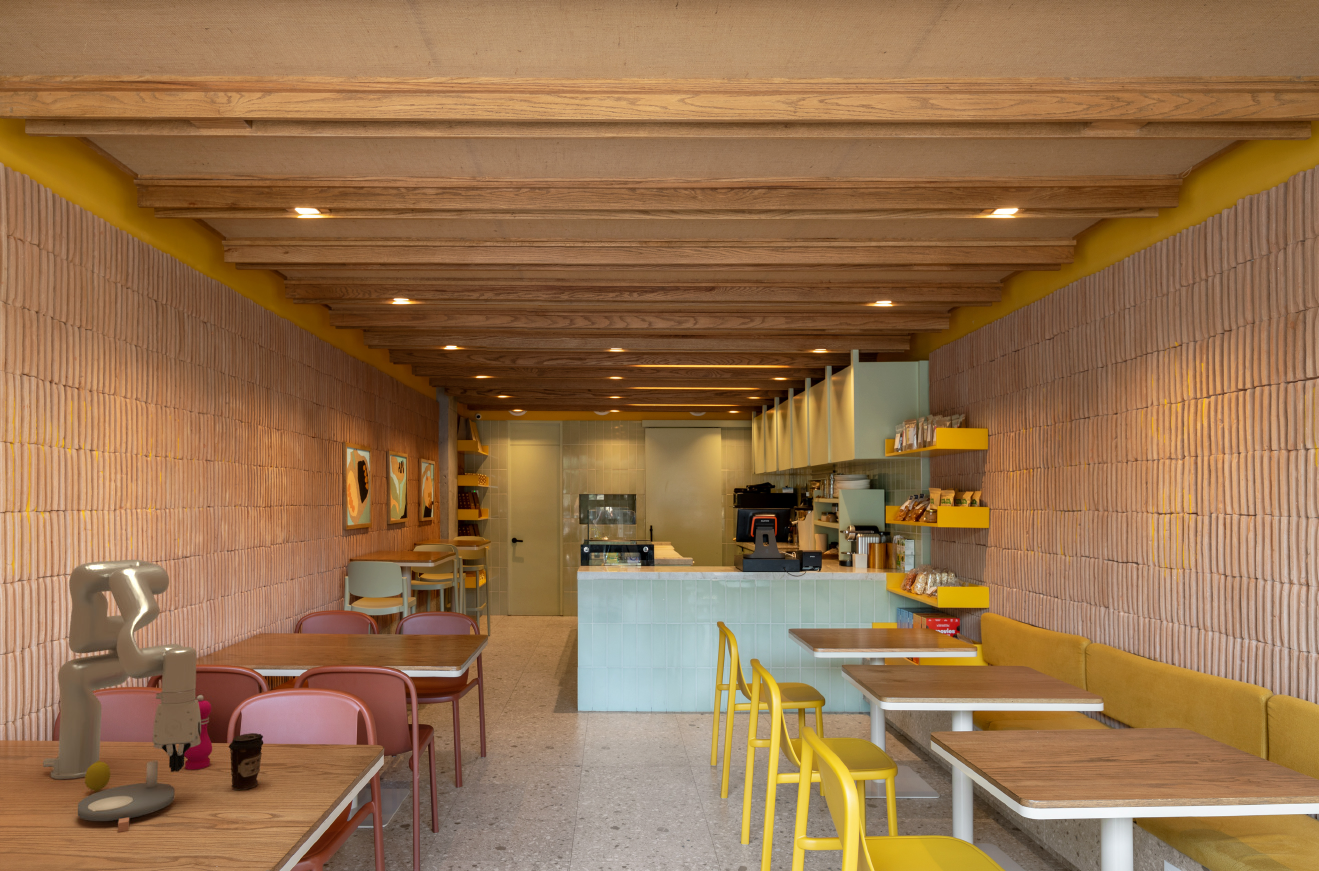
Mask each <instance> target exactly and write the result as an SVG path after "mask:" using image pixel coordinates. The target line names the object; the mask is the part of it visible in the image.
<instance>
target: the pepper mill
mask: <svg viewBox="0 0 1319 871" xmlns="http://www.w3.org/2000/svg"><path fill="white" fill-rule="evenodd" d="M196 700H198V703H199V709H200V717H201V734H200V741H201V743H200V744H199V745H197V746H194V747H190V748H189V749H188V750H187V751H186V752H185V755H184V759H186V760H185V761H184V768H185V770H191V771H194V770H201V769H205V768H207V767H209V766H210V765H211V758H210V757H209V756H210V755H211V754H212V752H213V744H212V741H211V739H210V736H209V733H208V723H209V722H210V716H209V715H210V714H211V712H212V705H211V703H210V701H208V700H205V698H204V696H203V695H202V694H200V695H198V696H196Z"/></svg>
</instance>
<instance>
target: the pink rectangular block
mask: <svg viewBox="0 0 1319 871" xmlns="http://www.w3.org/2000/svg"><path fill="white" fill-rule="evenodd" d="M129 827H130V819H129V817H128V818H122V819H119V821H117V833H121V832H127V831H129V829H130V828H129Z"/></svg>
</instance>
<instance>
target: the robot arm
mask: <svg viewBox="0 0 1319 871" xmlns="http://www.w3.org/2000/svg"><path fill="white" fill-rule="evenodd" d="M169 585H170V577H169V574H168V572H167V570H166V569H165V568H164V567H163V566H161V565H160V564H158V563H157V564H156V563H152V562H149V561H145V560H142V559H141V560H140V559H123V560H122V559H121V560H105V561H104V560H102V561H92V562H85V563H82V564H80V565H77V566H76V567H75V568H74V569H73V570H72V571H71V573H70V577H69V581H68V587H69V593H70V597H71V598H70V599H71V611H70V612H71V614H70V621H69V632H68V633H69V634H68V646H69V650H70V651H71V652H73V653H75V654H90V653H91V654H92V653H98V652H103V651H104V652H105V651H108V652H107V653H104V654H98V655H96V654H95V655H90V656H89V655H88V656H84V657H83V656H82V657H78V658H77V657H76V658H74V659H70V660H68V661H66V662H65V663H63V664H62V666H60V668H59V670H58V672H57V682H58V688H59V695H60V718H59V719H60V720H59V735H58V736H59V738H58V755H57V757H56V758H54V757H53V758H52V757H49V758H43V762H42V766H43V768H51V767H52V769H53V770H51V771H50V777H51V778H52V779H56V780H70V779H79V778H85V775H86V772H87V770H88V768H89V767H90V766H91V765H92V764H94V763H96V762H97V761H100V752H101V750H100V749H101V733H102V732H101V729H102V703H101V701H100V700H99V698H98V697H97V696H96V695H95V693H94V691H97V690H101V689H105V688H107V689H108V688H111V687H116V686H119V685H122V684H125V682H126V681H127V680H128V679H129V677H130V678H131V679H137V680H138V679H139V680H140V679H146V678H151V677H156V676H162V682H161V692H159V693H156V695H155V698H156V700H157V699H159V700H160V703H158V704H157V707H156V711H155V716H154V722H153V727H152V743H153V748H154V749H159V750H163V751H164V752H165V753H166V754H167V756H168V757H169V760H168V762H169V763H168V768H169V769H170V772H171V773H174V772H176V773H177V772H180V770H182V769H183V767H185V756H184V755H185V752H186V751H187V750H188V749H189V748H190V747H194V746H197V745H199V744H200V743H201V741H200V734H201V717H200V709H199V703H198V700H197V699H196V691H197V689H196V687H197V686H196V683H197V656H198V655H197V650H196V649H195V648H194V647H191V646H183V645H181V644H178V643H169V644H163V645H161V644H160V645H154V646H148V647H143V648H139V645H138V643H137V642H136V638H135V632H137V631H139V630H142V628H144V627H146V626H148V625H150V624H152V623H153V622H154V621H155V620H156V619H157V618H158V617H159V615H160V613H161V608H160V606H159V604H158V603H157V600H156V598H155V596H156V595H161V594H164V593H165V592H167V589H168V588H169ZM103 592H111V594H112V597H113V599H114V601H115V604H116V606H117V609H118V611H119V613H120V615H111V616H109V615H108V609H109V602H108V598H107V597H106V596H105V593H103ZM177 745H178V746H177ZM177 747H178V748H177Z"/></svg>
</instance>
